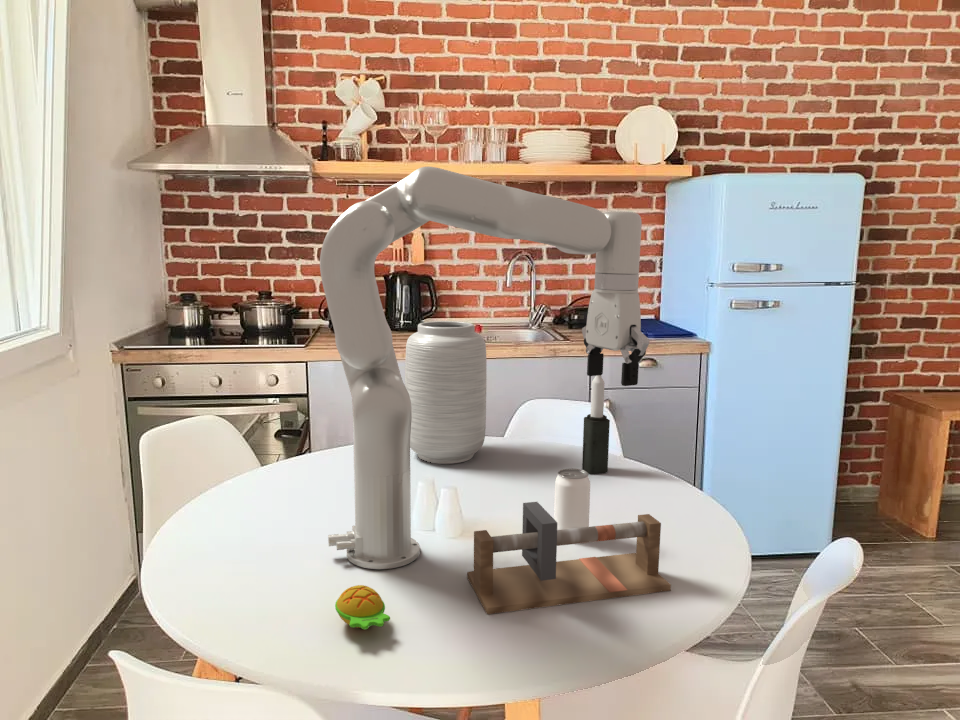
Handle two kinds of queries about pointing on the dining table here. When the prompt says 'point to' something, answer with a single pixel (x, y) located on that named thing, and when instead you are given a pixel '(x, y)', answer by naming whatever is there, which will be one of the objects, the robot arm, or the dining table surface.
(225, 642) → the dining table surface
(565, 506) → the can
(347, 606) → the toy pineapple
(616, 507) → the dining table surface
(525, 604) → the rail
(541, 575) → the collar
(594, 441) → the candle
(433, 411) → the vase
